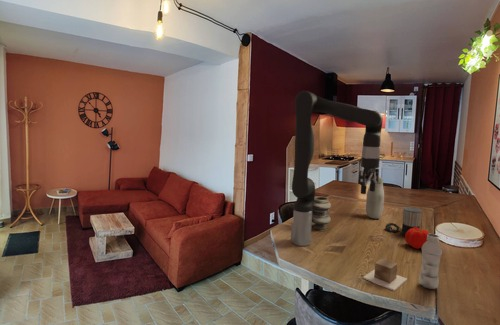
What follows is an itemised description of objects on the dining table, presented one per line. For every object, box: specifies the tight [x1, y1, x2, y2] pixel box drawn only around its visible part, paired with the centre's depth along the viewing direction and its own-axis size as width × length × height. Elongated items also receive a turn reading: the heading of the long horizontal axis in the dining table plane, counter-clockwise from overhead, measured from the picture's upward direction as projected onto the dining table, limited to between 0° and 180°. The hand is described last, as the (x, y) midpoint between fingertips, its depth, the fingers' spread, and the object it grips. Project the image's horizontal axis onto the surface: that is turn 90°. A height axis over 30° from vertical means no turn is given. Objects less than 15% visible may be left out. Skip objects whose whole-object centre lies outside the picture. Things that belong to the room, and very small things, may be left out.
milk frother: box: [385, 206, 423, 237], centre depth 167 cm, size 14×16×15 cm
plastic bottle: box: [418, 233, 443, 290], centre depth 110 cm, size 6×7×20 cm
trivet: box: [362, 268, 408, 292], centre depth 116 cm, size 12×12×1 cm
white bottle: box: [365, 175, 385, 220], centre depth 193 cm, size 10×10×28 cm
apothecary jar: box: [311, 195, 332, 232], centre depth 173 cm, size 12×12×18 cm
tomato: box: [404, 227, 430, 250], centre depth 148 cm, size 11×12×9 cm
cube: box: [374, 258, 398, 283], centre depth 116 cm, size 6×6×6 cm
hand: (367, 192), depth 133 cm, fingers open, 8 cm apart
